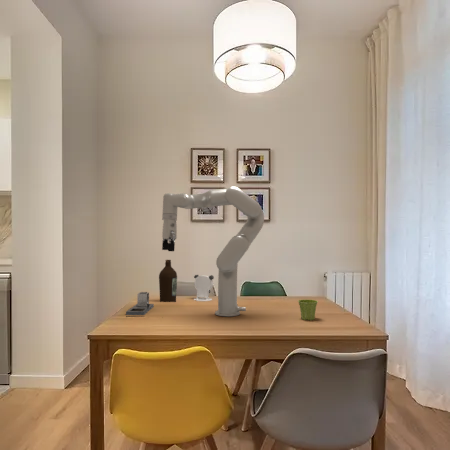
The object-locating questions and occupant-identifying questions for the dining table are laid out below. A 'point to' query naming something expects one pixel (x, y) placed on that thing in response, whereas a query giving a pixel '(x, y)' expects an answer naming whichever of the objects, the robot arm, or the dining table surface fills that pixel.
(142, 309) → the rail
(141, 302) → the block
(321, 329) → the dining table surface
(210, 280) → the panda figurine
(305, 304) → the plant pot
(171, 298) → the olive oil
